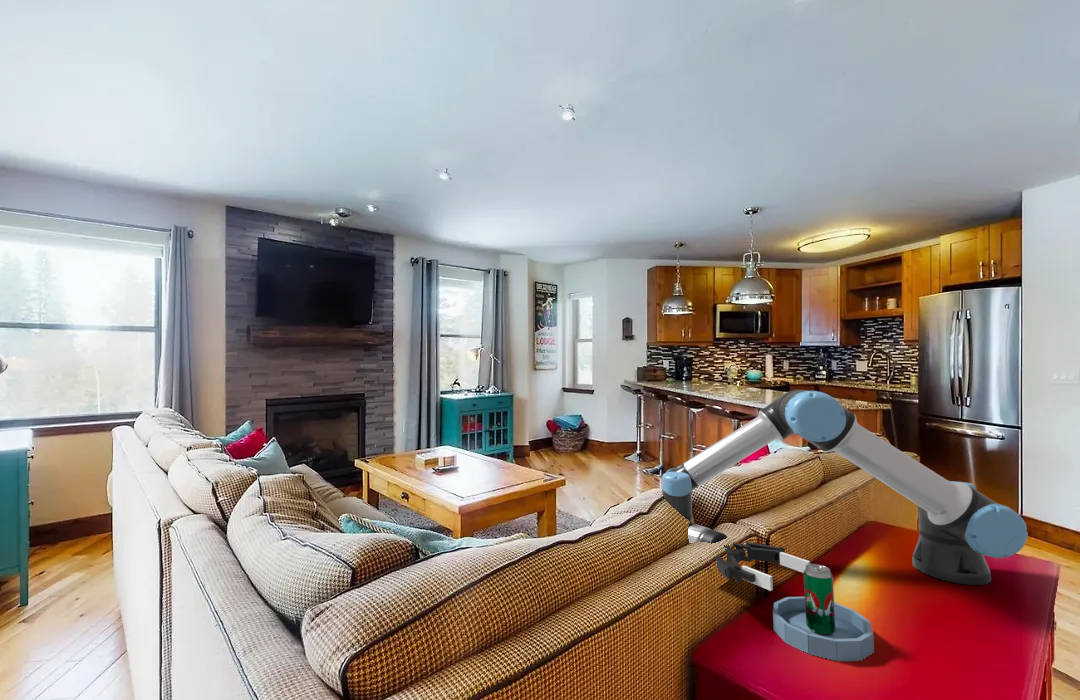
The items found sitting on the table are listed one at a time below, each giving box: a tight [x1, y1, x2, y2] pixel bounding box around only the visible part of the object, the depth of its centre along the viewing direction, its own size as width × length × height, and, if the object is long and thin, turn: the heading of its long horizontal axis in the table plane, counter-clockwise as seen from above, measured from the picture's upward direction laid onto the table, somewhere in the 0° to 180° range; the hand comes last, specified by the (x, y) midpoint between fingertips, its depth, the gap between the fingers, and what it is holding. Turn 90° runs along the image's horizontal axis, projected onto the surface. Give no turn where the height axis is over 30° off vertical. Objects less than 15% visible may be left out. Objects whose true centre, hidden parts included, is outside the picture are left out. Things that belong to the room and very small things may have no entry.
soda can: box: [803, 563, 836, 635], centre depth 94 cm, size 5×5×12 cm
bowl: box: [772, 596, 875, 662], centre depth 94 cm, size 17×17×4 cm
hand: (791, 575), depth 99 cm, fingers open, 13 cm apart
